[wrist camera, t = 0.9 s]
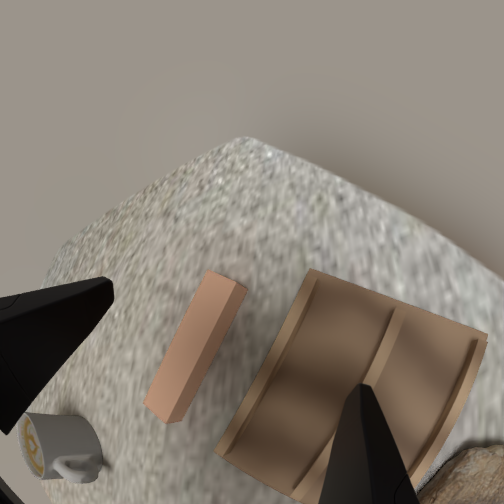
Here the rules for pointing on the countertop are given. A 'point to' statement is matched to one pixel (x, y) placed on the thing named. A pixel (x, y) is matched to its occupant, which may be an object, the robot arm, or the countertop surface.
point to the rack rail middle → (369, 379)
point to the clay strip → (194, 346)
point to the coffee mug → (59, 447)
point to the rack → (351, 382)
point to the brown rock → (468, 479)
